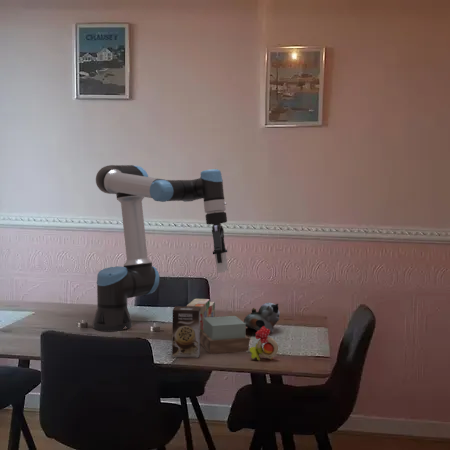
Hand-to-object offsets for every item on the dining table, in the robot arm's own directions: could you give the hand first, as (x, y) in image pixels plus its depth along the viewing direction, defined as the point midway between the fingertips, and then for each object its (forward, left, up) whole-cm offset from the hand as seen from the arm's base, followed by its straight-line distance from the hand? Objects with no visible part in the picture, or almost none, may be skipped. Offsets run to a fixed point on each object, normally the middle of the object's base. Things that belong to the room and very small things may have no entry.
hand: (222, 271), depth 217 cm
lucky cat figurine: (-13, +19, -27) cm, 35 cm away
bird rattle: (+20, +9, -27) cm, 35 cm away
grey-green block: (+4, 0, -22) cm, 22 cm away
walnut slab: (+3, 0, -27) cm, 27 cm away
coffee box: (+9, -15, -27) cm, 32 cm away
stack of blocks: (-21, -2, -27) cm, 34 cm away
